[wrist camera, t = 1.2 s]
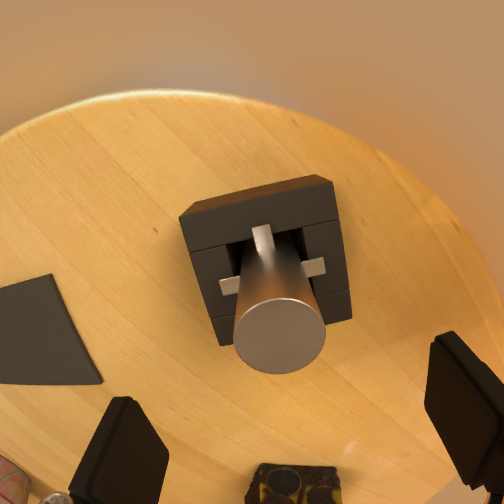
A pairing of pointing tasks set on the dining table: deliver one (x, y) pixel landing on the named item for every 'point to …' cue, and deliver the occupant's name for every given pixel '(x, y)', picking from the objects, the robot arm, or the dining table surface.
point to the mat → (41, 338)
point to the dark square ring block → (281, 219)
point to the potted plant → (13, 483)
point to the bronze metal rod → (275, 304)
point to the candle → (294, 485)
